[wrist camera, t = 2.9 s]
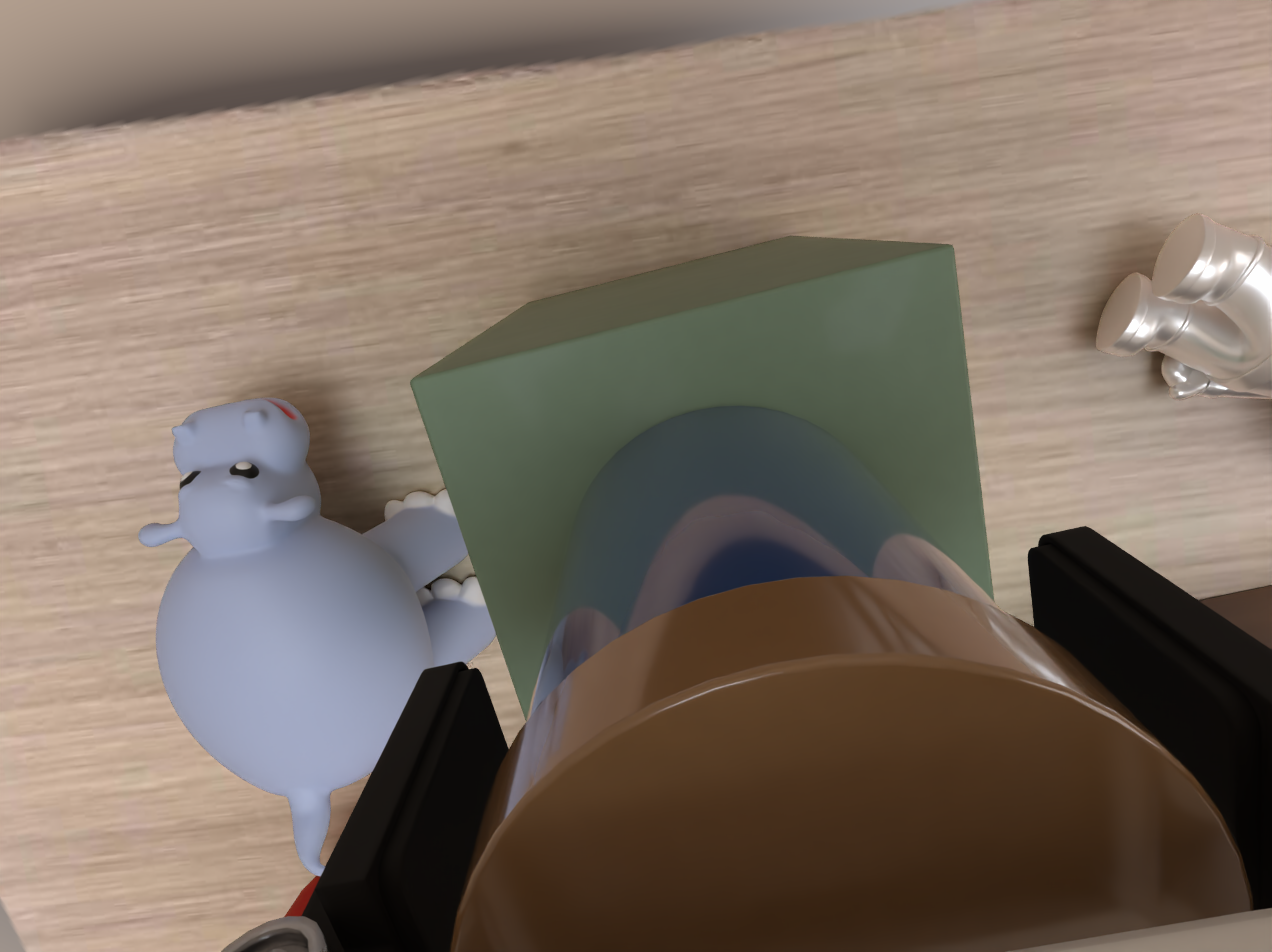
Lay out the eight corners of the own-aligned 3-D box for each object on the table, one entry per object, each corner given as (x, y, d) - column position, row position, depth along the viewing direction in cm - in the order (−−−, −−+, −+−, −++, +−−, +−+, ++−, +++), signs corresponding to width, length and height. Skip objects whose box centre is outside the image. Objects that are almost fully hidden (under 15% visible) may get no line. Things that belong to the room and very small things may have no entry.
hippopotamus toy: (424, 351, 29) (323, 407, 20) (518, 687, 33) (472, 859, 24) (157, 404, 30) (-58, 481, 20) (285, 726, 34) (155, 907, 25)
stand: (792, 235, 27) (955, 243, 13) (837, 490, 30) (1009, 721, 16) (525, 303, 28) (407, 380, 14) (595, 544, 31) (555, 811, 17)
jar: (876, 355, 14) (1263, 567, 5) (924, 673, 16) (1258, 1203, 7) (516, 441, 14) (326, 761, 6) (607, 738, 16) (567, 1299, 8)
